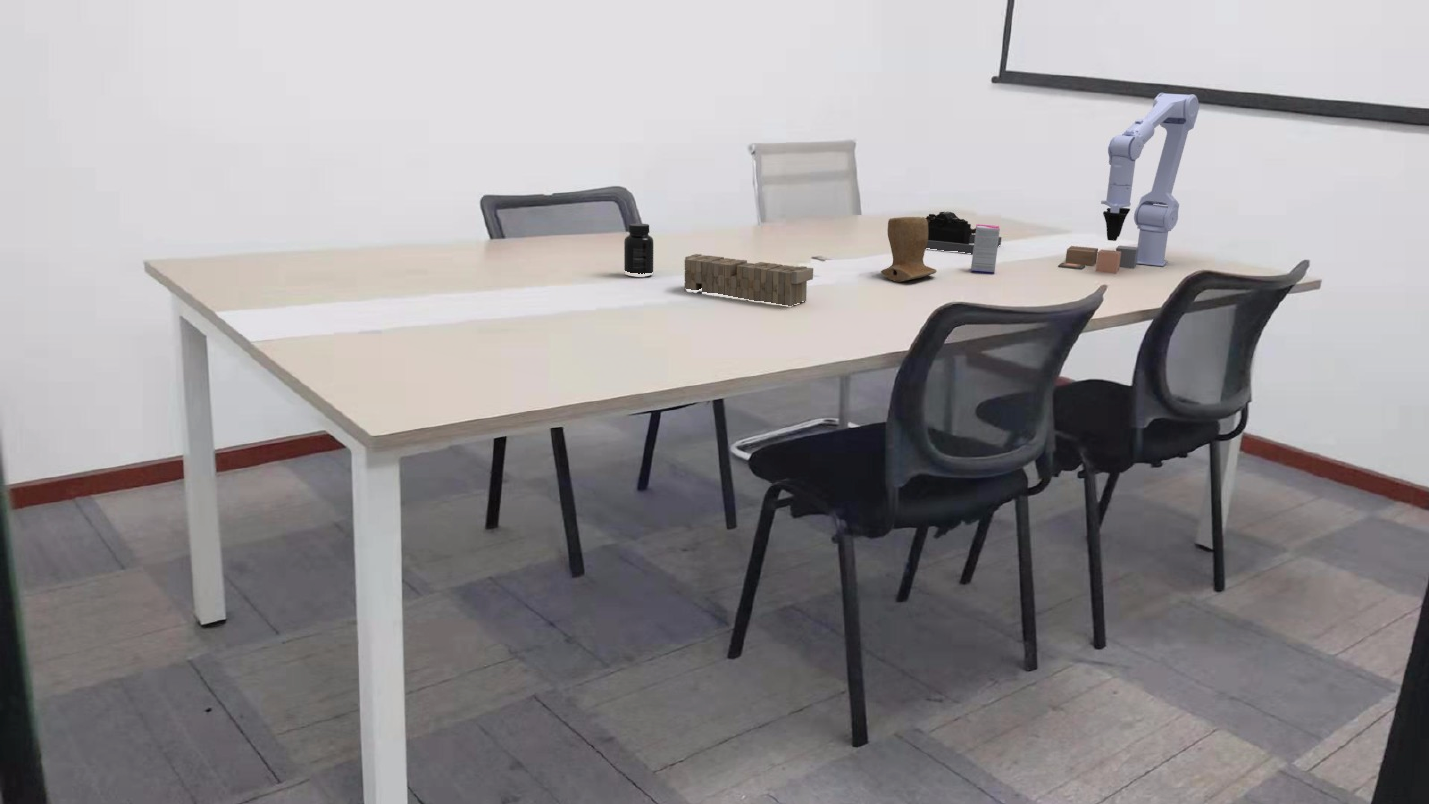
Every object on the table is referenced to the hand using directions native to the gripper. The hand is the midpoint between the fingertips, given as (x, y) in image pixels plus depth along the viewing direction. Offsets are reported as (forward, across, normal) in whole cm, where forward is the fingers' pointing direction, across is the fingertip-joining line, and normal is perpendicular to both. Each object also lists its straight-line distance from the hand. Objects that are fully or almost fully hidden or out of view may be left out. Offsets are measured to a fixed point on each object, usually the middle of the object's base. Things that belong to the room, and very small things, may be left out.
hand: (1113, 238), depth 298 cm
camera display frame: (+8, -16, -45) cm, 48 cm away
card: (+8, -1, -10) cm, 13 cm away
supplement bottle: (+8, +70, -100) cm, 122 cm away
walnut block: (+9, -9, -8) cm, 15 cm away
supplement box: (+9, +19, -29) cm, 35 cm away
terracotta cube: (+9, 0, 0) cm, 9 cm away
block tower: (+9, +79, -69) cm, 106 cm away
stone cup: (+9, +38, -44) cm, 59 cm away
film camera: (+9, -16, -45) cm, 48 cm away
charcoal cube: (+9, -10, +3) cm, 14 cm away
